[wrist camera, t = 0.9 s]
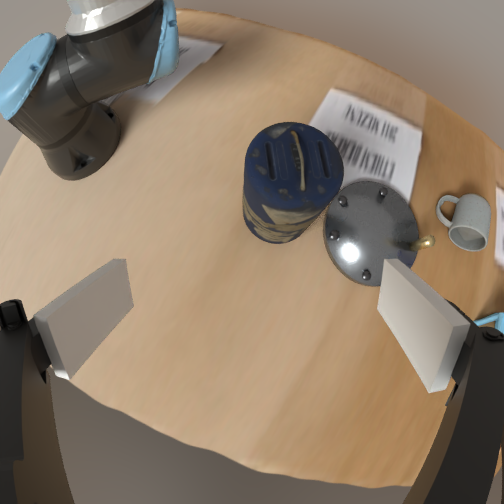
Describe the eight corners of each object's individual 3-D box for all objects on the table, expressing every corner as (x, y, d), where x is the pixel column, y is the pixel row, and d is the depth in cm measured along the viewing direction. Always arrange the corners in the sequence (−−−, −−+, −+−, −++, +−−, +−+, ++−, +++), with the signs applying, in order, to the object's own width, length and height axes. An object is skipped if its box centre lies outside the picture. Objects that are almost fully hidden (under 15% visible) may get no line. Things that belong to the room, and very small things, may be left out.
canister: (237, 240, 41) (234, 195, 23) (247, 178, 42) (252, 103, 25) (304, 250, 41) (349, 215, 23) (311, 188, 42) (351, 123, 25)
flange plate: (310, 268, 40) (322, 262, 34) (336, 170, 43) (349, 151, 37) (403, 298, 40) (426, 297, 34) (419, 206, 43) (440, 193, 36)
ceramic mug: (475, 219, 43) (500, 207, 36) (467, 255, 42) (494, 247, 34) (438, 188, 44) (462, 172, 36) (428, 224, 43) (454, 211, 35)
